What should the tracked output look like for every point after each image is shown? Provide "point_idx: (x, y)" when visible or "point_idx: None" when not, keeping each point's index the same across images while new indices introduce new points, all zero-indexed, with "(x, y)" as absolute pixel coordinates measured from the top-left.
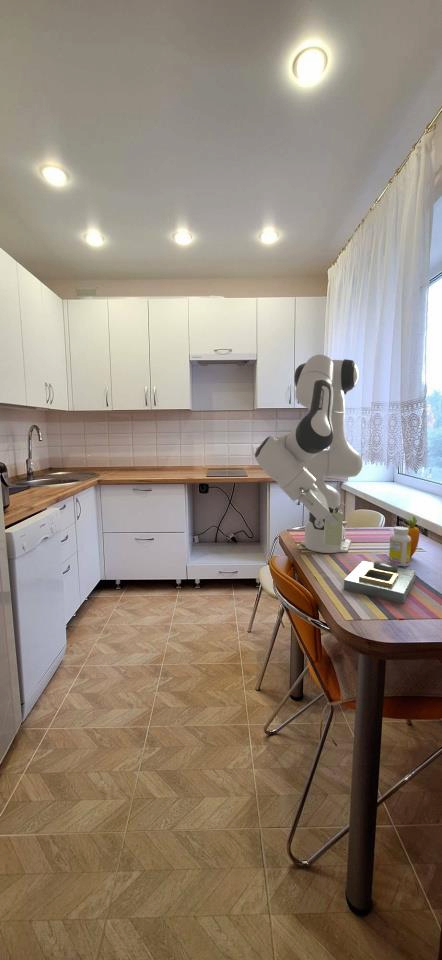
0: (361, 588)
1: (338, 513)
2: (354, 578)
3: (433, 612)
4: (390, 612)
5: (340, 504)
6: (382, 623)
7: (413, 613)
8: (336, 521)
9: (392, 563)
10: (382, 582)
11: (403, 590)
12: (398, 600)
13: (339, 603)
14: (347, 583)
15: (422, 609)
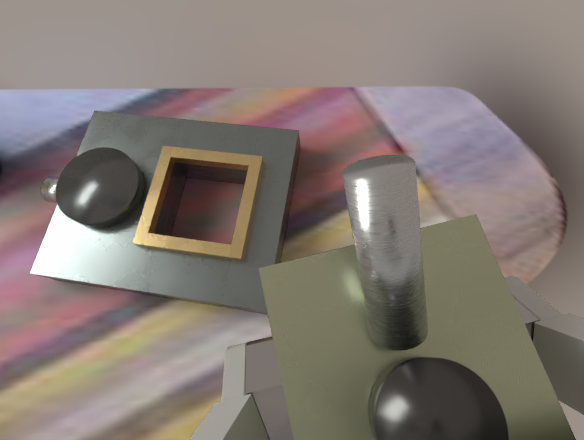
0: (279, 252)
1: (498, 268)
2: (237, 277)
3: (316, 87)
4: None
5: (411, 231)
6: (451, 184)
7: (347, 124)
8: (530, 293)
9: (76, 164)
10: (256, 184)
11: (276, 132)
12: (298, 155)
13: None
14: None
15: (311, 107)
